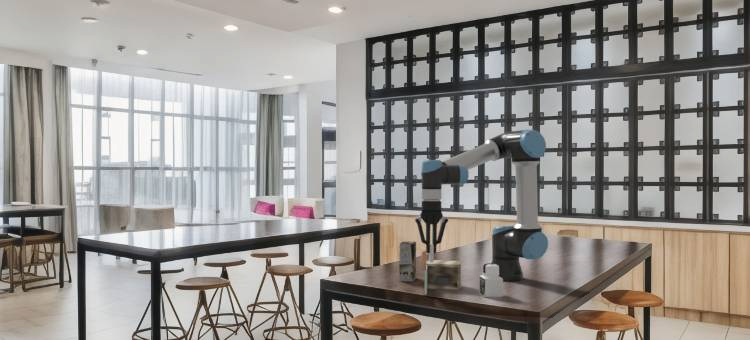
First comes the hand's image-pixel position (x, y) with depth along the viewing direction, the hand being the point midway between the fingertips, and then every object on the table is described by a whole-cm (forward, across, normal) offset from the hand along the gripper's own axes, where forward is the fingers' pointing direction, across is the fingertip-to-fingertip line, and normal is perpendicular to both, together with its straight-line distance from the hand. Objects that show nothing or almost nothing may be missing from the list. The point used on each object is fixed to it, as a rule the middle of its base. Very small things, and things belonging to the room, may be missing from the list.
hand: (431, 261), depth 216 cm
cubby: (+13, -8, -14) cm, 20 cm away
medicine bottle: (+13, -23, +3) cm, 26 cm away
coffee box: (+13, +5, -30) cm, 33 cm away
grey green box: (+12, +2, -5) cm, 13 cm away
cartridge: (+13, -8, -14) cm, 20 cm away
